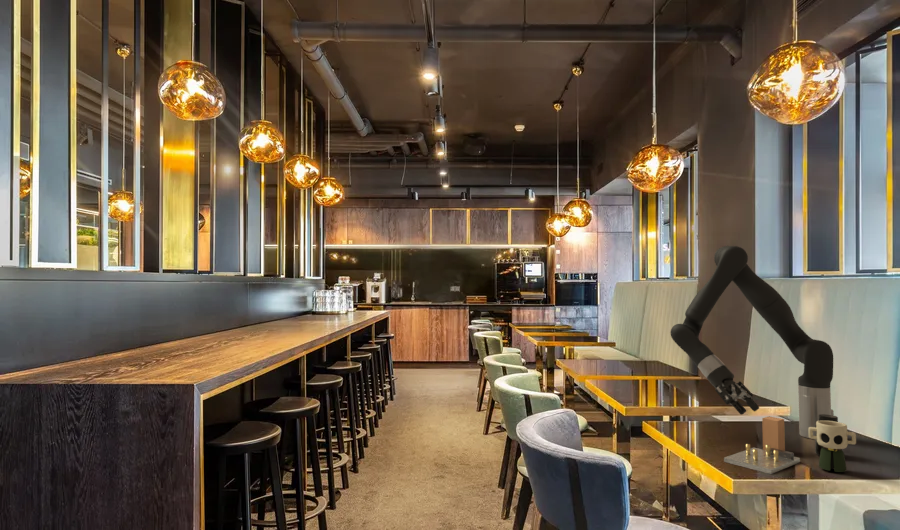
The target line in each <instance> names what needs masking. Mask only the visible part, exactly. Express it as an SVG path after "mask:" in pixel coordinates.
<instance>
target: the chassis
mask: <svg viewBox="0 0 900 530" xmlns="http://www.w3.org/2000/svg"><path fill="white" fill-rule="evenodd" d="M723 462H724V463H728V464H731V465H735V466H739V467H743V468H746V469H751V470H754V471H757V472H761V473H765V474H770V475H772V474H775V473H778V472H779V471H782V470H784V469H787V468H790V467H793V466H794V465H797V464H800V463H801V458H800V457H797V456H795V453H794V452H792V451H787V450H785V451H783V450H779V449H774V448H770V445H766V450H763V448H758V447H757V448H756V447H751V443H745V450H743V451H742V450H741V451H739V452H736V453H734V454H731V455H728V456H724V457H723Z"/></svg>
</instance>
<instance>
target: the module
mask: <svg viewBox="0 0 900 530" xmlns="http://www.w3.org/2000/svg"><path fill="white" fill-rule="evenodd" d="M761 421H762V423H761V424H762V425H761V426H762V427H761V428H762V449H763V450H766V445H770V448H774V449H779V450H783V451H786V442H785V441H786V436H785V419H784V418H782V417H781V418H780V417H775V416H765V417H762V420H761Z"/></svg>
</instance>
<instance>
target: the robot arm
mask: <svg viewBox="0 0 900 530" xmlns="http://www.w3.org/2000/svg"><path fill="white" fill-rule="evenodd" d="M748 255H749V254H748V253H747V252H746V250H745V249H744V248H742V247H741V246H737V245H725V246H722V247H719V248H718V249H716V251H715V253H714V257H713V258H714V259H713V260H714V263H715V266H716V268H715V269H714V272H713V274H712V276H711V277H710V278H709V279H708V281H707V282H706V283H705V285H703V286H702V287H701V289H700V290H699V291H698V292H697V293H696V294H695V296H694V298H692V301H691V302H690V303H689V306H688V307H687V309H686V310H685V314H684V315H685V319H684V320H683V322H682V323H677V324H674V325H673V326H672V327H671V329H670V337H671V339H672V340H673V342H674V343H675V344H676V345H677V346H678V347H679V348H680V349H681V350H682V351H683V352H684V353H685V354H687V356H688V357H689V358H690V360H691V361H692V362H693V363H694V364H695V366H696V367H697V368H698V369H699V371H700V372H701V374H702V375H703V376H704V377H705V378H706V379H707V381H708V382H709V384H711V386H713V388H714V391H715V392H716V393H717V395H718V396H719V397H720V398H721V400H723V402H724V403H725V404H726V405H730V406H732V407H733V408H734V409H735V410H736V411H737V412H738V413H739V415H744V414H745V413H746V412H747V409H746V408H745V406H743V404H741V403H740V401H738V399H739V400H742V401H744V402H745V404H747V406H748V407H749V408H750V409H751V411H753V412H757V411H758V410H759V409H760V406H759V405H758V404H757V402H756V401H754V400H753V396H754V394H753V393H752V391H750V390H749V389H748V388H747V386H746V385H744V384H743V382H742V381H738V382H736V381H734V378H735V375H734V373H733V372H732V371H731V370H730V369H729V368H728V366H726V364H725V363H724V362H723V361H722V360H721V359H720V358H719V357H718V356H717V355H715V353H714V352H713V351H712V350H711V349H710V348H709V347H708V346H707V345H706V344H705V343H704V342H702V341H701V340H700V339H699V338H698V337H699V335H700V334H701V330H702V328H703V325H704V323H705V321H706V320H707V318H708V317H709V315H710V313H711V311H712V310H713V308H715V305H716V304H717V302H718V301H719V299H720V297H721V296H722V295H723V293H725V291H726V289H727V288H728V286H729V285H730V284H731V283H732V282H733V283H734V284H735V285H736V286H737V288H738V289H739V290H740V292H741V293H742V295H743V296H744V297H745V298H746V300H747V301H748V302H749V303H750V304H751V306H752V307H753V309H755V310H756V312H757V313H758V314H759V316H760V317H761V318H762V319H764V320H765V322H767V324H768V325H769V327H770V328H771V329H772V330H773V331H774V332H775V333H776V334H777V335H778V336H779V337H780V339H782V341H783V342H784V344H785V345H786V347H787V348H788V349H789V351H790V352H791V354H792V356H793V357H794V358H795V359H796V360H797V361H798V362H799V363H801V364H803V374H801V375H799V377H798V380H797V382H798V385H797V386H798V425H799V429H798V430H799V431H798V432H799V436H800V437H803V438H807V439H810V438H809V432H808V429H809V427H815V425H816V422H817V421H819V415H820V414H827V415H833V416H835V414H834V410H833V409H832V404H831V403H832V400H831V395H832V394H831V383H832V381H833V378H834V353H833V350H832V347H831V345H829V343H827V342H826V341H824V340H819V339H814V338H812V337H811V336H809V335H808V334H807V332H805V331H804V330H803V329H802V328H801V326H800V325H798V323H797V321H796V317H795V315H794V313H793V310H792V309H791V306H790V305H789V303H788V302H787V301H786V300H785V299H784V297H783V296H782V295H781V294H780V293H779V292H778V291H777V290H776V289H775V288H774V287H773V286H771V285H770V284H769V283H768V282H767V281H765V280H764V279H763V278H761V277H760V276H758V274H757V273H755V272H754V271H753V269H752V268H750V266H749V264H748V260H749V256H748ZM813 436H815V431H813Z"/></svg>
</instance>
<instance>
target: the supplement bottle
mask: <svg viewBox="0 0 900 530" xmlns="http://www.w3.org/2000/svg"><path fill="white" fill-rule="evenodd" d="M819 421H835V422H839V417H838V416H836V415H834V416H833V415H827V414H820V415H819ZM815 428H816V425H815ZM815 436H817V432H816V431H815ZM822 448H823V446H821V445H819V444H818V442H817V440H816V439H814V450H815V451H814V452H815V454H816V455H817V456H819V457H820V452H821V449H822ZM841 450H842V451H843V449H841Z"/></svg>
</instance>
